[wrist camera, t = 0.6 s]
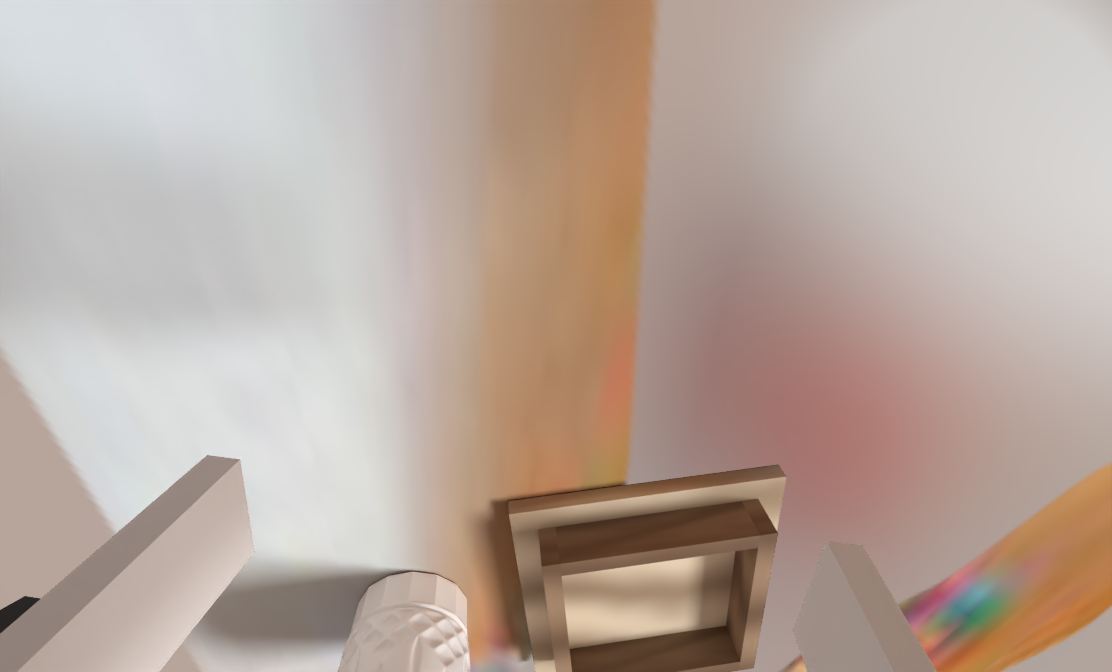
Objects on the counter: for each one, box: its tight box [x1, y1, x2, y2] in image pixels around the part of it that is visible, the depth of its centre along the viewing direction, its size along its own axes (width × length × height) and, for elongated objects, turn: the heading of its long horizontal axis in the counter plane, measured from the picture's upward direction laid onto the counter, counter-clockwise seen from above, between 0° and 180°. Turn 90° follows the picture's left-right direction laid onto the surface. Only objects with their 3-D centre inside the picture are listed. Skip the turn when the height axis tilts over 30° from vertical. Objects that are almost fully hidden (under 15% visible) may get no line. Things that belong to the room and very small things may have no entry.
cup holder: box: [508, 465, 786, 672], centre depth 34 cm, size 16×16×4 cm
